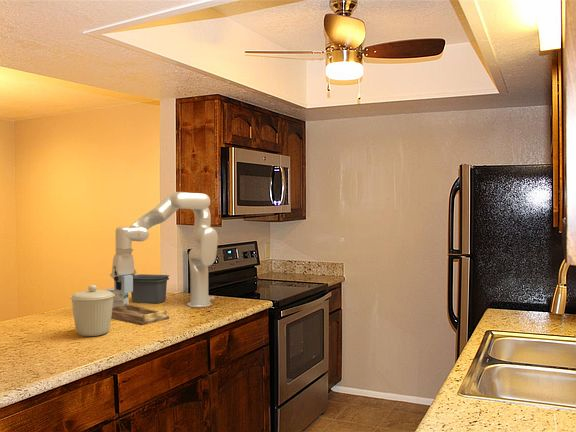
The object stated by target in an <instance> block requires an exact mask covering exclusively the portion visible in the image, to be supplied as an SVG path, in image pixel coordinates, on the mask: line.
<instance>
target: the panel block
mask: <svg viewBox="0 0 576 432" xmlns="http://www.w3.org/2000/svg"><path fill="white" fill-rule="evenodd" d="M115 276H116V275H115ZM118 277H119V276H118ZM120 282H121V290H117V289H116V281H115V280H114V279H113V288H114V291H116V292H122V293H128V292H129V293H131V292H133V275H122V276H121V280H120Z"/></svg>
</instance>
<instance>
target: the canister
mask: <svg viewBox="0 0 576 432" xmlns="http://www.w3.org/2000/svg"><path fill="white" fill-rule="evenodd" d="M87 289H88V290H81V291H77V292H74V293H73V294H72V295H70V296H69V299H70V300H71V306H72V313H73V319H74V326H75V331H76V333H77V334H78V335H79V336H82V337H97V336H103V335H106V333H108V332H109V330H110V328H111V323H112V318H111V316H112V306H113V297H114V296H115V294H114V293H112V292H110V291H107V290H104V289H98V287H97V285H95V284H90V285H88V288H87Z"/></svg>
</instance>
